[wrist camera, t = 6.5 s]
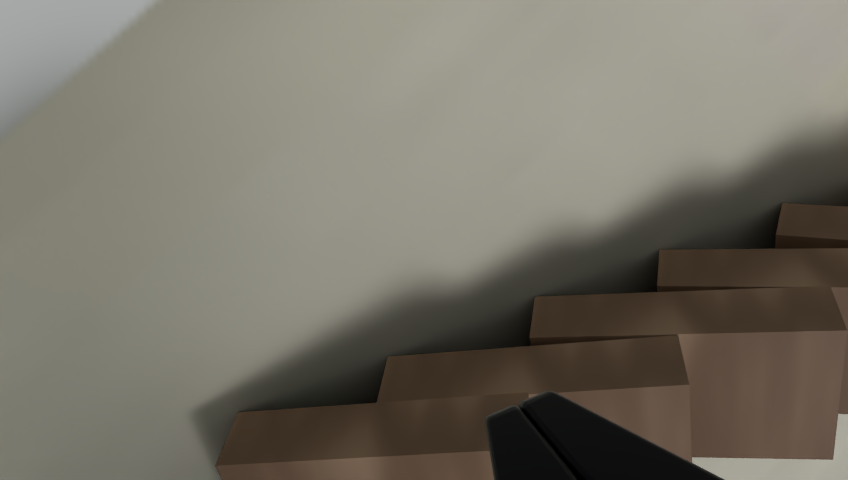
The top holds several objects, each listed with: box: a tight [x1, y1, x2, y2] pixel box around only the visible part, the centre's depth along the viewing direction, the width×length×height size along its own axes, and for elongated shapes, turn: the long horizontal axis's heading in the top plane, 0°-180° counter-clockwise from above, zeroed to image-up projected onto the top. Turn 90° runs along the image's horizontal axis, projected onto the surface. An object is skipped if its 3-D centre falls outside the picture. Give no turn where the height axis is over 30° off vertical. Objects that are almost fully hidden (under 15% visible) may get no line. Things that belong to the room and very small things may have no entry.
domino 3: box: [530, 286, 847, 460], centre depth 24 cm, size 2×5×8 cm
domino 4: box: [657, 248, 848, 414], centre depth 25 cm, size 2×5×8 cm
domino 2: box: [377, 335, 692, 463], centre depth 23 cm, size 2×5×8 cm
